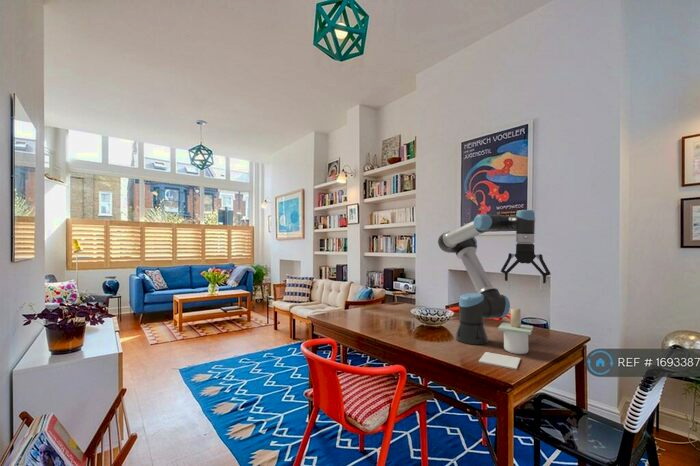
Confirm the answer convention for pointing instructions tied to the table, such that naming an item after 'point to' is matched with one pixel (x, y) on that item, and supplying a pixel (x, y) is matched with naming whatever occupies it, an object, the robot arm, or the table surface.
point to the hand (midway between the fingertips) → (524, 289)
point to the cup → (516, 342)
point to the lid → (515, 324)
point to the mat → (500, 360)
